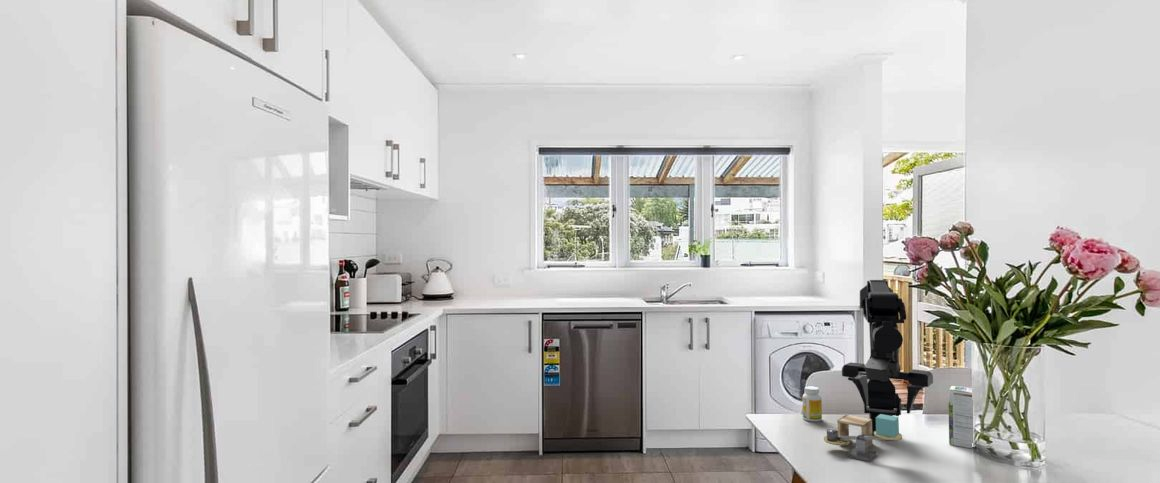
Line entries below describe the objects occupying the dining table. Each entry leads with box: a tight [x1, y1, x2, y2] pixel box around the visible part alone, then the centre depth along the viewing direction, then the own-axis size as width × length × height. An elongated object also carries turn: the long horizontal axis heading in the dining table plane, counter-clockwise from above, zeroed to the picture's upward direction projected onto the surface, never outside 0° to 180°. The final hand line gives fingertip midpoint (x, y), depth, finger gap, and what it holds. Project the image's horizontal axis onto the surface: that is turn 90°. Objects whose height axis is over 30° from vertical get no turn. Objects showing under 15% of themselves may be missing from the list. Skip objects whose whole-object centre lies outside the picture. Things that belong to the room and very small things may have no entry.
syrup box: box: [947, 385, 973, 449], centre depth 145 cm, size 6×6×14 cm
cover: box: [836, 414, 874, 449], centre depth 147 cm, size 6×6×6 cm
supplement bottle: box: [801, 385, 823, 423], centre depth 169 cm, size 5×5×10 cm
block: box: [876, 414, 900, 438], centre depth 134 cm, size 4×4×4 cm
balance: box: [823, 428, 903, 463], centre depth 138 cm, size 6×18×7 cm, turn 46°
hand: (887, 409), depth 134 cm, fingers open, 9 cm apart
